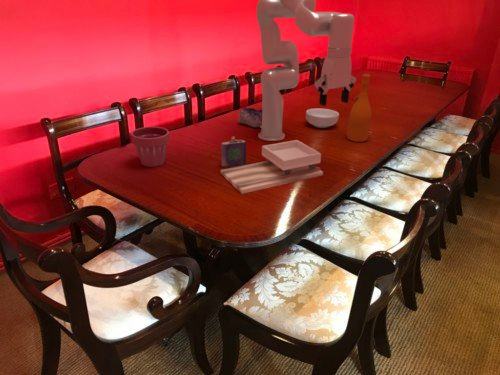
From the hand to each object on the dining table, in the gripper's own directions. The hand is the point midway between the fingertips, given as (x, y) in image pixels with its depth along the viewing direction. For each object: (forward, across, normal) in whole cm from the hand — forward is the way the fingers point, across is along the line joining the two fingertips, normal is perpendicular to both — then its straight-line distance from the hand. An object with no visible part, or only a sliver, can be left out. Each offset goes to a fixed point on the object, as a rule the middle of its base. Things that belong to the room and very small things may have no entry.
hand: (333, 103), depth 138 cm
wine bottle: (+26, -34, -22) cm, 49 cm away
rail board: (+26, +22, -6) cm, 34 cm away
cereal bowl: (+26, -31, -46) cm, 61 cm away
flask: (+26, +30, -20) cm, 45 cm away
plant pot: (+26, +59, -36) cm, 73 cm away
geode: (+26, -1, -61) cm, 66 cm away
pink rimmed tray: (+23, +14, -6) cm, 27 cm away
